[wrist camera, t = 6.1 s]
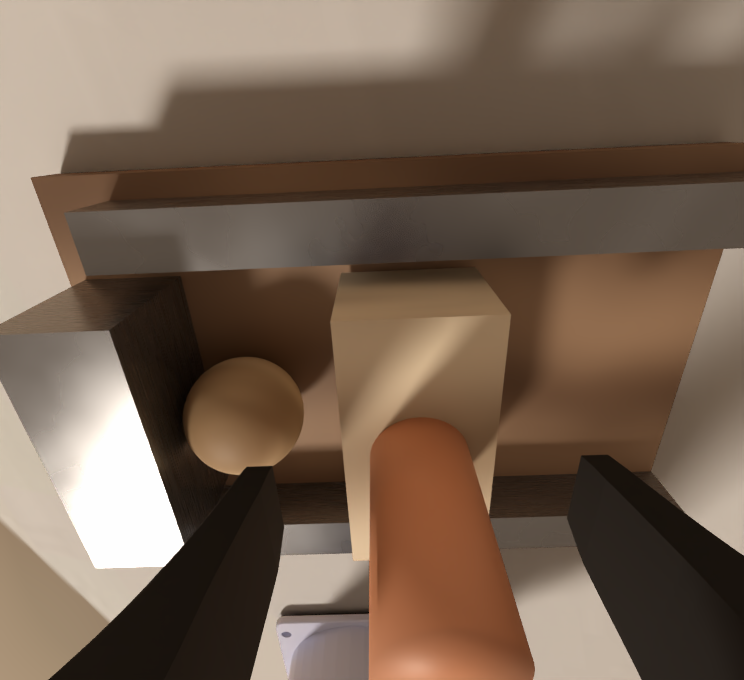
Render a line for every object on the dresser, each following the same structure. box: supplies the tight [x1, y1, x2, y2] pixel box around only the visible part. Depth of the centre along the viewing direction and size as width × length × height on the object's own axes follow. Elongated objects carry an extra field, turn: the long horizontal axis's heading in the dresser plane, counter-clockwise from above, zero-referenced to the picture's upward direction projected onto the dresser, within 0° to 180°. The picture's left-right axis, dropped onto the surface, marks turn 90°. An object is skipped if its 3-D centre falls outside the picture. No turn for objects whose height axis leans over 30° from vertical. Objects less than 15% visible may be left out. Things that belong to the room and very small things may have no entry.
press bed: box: [0, 142, 744, 568], centre depth 14 cm, size 14×20×5 cm
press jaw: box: [330, 267, 535, 680], centre depth 11 cm, size 8×4×9 cm, turn 2°
